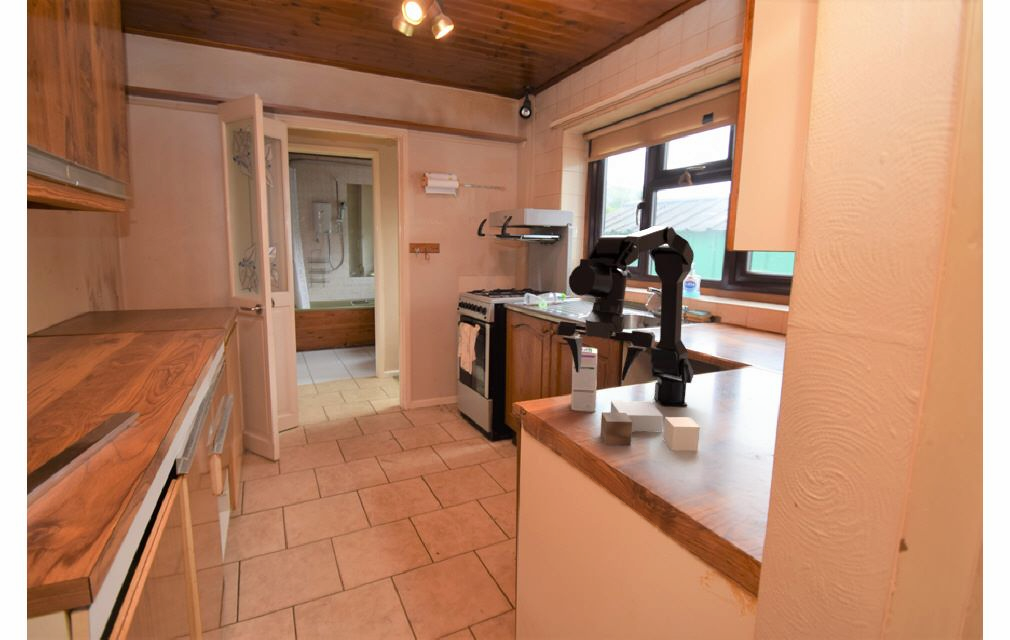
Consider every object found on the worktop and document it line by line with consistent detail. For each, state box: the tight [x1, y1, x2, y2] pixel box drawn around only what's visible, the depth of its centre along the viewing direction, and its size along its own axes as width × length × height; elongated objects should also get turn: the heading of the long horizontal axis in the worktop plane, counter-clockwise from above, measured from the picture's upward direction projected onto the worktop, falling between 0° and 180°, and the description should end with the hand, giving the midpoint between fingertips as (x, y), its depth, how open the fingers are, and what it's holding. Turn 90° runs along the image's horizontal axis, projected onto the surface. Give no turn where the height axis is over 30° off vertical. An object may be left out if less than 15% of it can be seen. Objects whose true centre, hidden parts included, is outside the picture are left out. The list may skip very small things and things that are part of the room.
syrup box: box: [570, 346, 598, 413], centre depth 112 cm, size 6×6×14 cm
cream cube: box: [663, 416, 701, 452], centre depth 92 cm, size 5×5×5 cm
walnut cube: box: [600, 411, 633, 446], centre depth 94 cm, size 5×5×5 cm
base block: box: [610, 400, 664, 433], centre depth 103 cm, size 9×9×4 cm
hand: (599, 376), depth 93 cm, fingers open, 9 cm apart
